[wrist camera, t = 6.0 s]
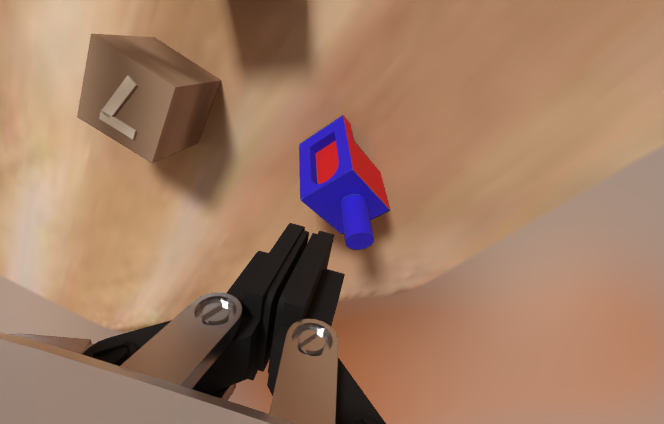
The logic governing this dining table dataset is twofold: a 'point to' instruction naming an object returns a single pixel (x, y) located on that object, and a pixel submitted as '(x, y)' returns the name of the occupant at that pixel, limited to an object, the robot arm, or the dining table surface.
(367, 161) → the toy building block
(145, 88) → the numeral seven cube
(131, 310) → the dining table surface
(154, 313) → the dining table surface
